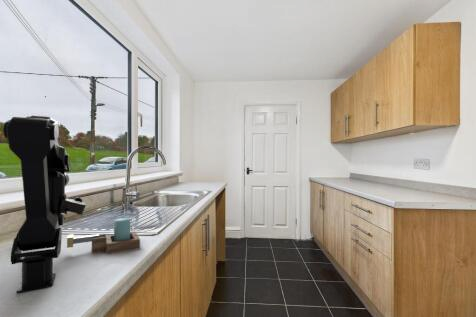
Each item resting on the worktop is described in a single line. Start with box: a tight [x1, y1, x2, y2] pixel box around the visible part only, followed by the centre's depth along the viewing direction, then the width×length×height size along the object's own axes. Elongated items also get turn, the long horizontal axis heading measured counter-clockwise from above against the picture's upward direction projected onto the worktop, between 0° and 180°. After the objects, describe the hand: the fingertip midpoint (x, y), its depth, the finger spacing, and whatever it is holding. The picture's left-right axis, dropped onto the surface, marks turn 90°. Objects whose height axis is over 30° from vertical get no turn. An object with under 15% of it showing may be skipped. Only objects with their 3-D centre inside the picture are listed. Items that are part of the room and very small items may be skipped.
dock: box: [91, 231, 141, 255], centre depth 84 cm, size 10×14×4 cm
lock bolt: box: [66, 233, 100, 248], centre depth 79 cm, size 3×8×3 cm, turn 120°
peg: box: [113, 217, 131, 242], centre depth 85 cm, size 5×5×9 cm
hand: (52, 243), depth 75 cm, fingers closed
